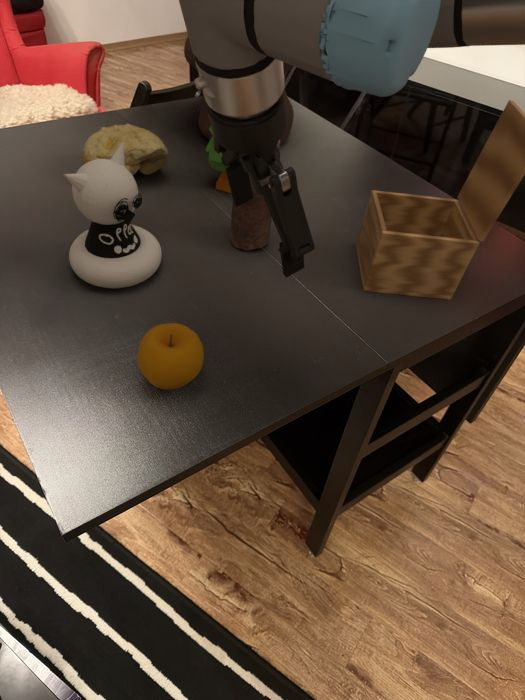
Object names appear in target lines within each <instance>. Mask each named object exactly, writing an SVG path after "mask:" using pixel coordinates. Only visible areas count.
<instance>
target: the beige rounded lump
mask: <svg viewBox="0 0 525 700" xmlns="http://www.w3.org/2000/svg"><path fill="white" fill-rule="evenodd" d="M123 141H124V157H125V168H127V170H128V171H129V172H130V173H131V174H132V176H134V175H136V173H137V172H138V171H139V172H140V173H142V174H143V175H145V176H148V175H152V174H154V173H156V172H157V171H159V170H160V169H162V167H163V166H164V165H165V164H166V161H167V156H168V155H169V151H168V148H167V147H166V145H165V144H164V142H163V140H162V139H161V138H160V137H159V136H158V135H156V134H154V132H151V130H148V129H145V128H144V127H139V126H135V125H133V124H130V123H128V122H127V123H125V124H124V125H123V124H114V125H112V126H107V127H105V126H101V128H100V129H99V130H98V131H95V132H94V133H93V134H91V135H90V136H89V137H88V138H87V140H86V141H85V143H84V146H83V150H82V162H83V165H84V164H86V163H87V162H89V161H92V160H96V159H109V160H111V158H112V157H113V155H114V154H115V152H116V151H117V149H118V148H119V146H120V145H121V143H122V142H123Z"/></svg>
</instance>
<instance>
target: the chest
mask: <svg viewBox="0 0 525 700" xmlns="http://www.w3.org/2000/svg"><path fill="white" fill-rule="evenodd" d="M367 202H368V203H367V206H366V210H365V212H364V216H363V219H362V224H361V227H360V230H359V233H358V236H357V240H356V244H355V249H356V250H355V251H356V256H357V261H358V266H359V273H360V277H361V284H362V289H363V292H371V293H380V294H391V295H400V296H409V297H410V296H411V297H419V298H429V299H438V300H439V299H440V300H448V301H451V300H452V298H453V296H454V295H455V292H456V291H457V289H458V286H459V284H460V283H461V280H462V279H463V276H464V274H465V272H466V270H467V269H468V267H469V265H470V263H471V261H472V259H473V257H474V255H475V253H476V251H477V249H478V247H479V246H480V242H479V240H478V238H477V236H476V234H475V232H474V230H473V228H472V226H471V224H470V222H469V220H468V218H467V216H466V213H465V211H464V209H463V207H462V205H461V203H460V201H459V199H455V198H445V197H437V196H430V195H429V196H428V195H419V194H410V193H401V192H393V191H386V190H385V191H384V190H383V191H382V190H376V189H375V190H374V189H372V190H371V192H370V195H369V199H368V201H367Z"/></svg>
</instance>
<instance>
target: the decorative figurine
mask: <svg viewBox="0 0 525 700" xmlns="http://www.w3.org/2000/svg"><path fill="white" fill-rule="evenodd" d="M63 176H64V177H65V178H66V179H67V181H68V182H69V183H70V184H71V186H72V187H71V193H72V198H73V201H74V203H75V206H76V207H77V209H78V210H79V211H80V213H81V214H82V215H83V216H85V218H87V219H88V220H90V221H91V222H90V225H89V228H88V229H87V230H85V231H82V233H80V234H79V235H78V236H77V237H76V238H75V239H74V240H73V242H72V244H71V246H70V248H69V252H68V260H69V264H70V267H71V269H72V270H73V272H74V273H75V274H76V275H77V276H78V278H80V279H81V280H82V281H84V282H86V283H88V284H90V285H93V286H95V287H98V288H105V289H123V288H124V289H125V288H129V287H133V286H137V285H139V284H140V283H143V282H145V281H146V280H148V279H149V278H151V277H152V276H153V275H155V273H156V272H157V271H158V269H159V267H160V265H161V262H162V257H163V256H162V253H163V252H162V248H161V247H162V246H161V245H160V243H159V240H158V239H157V238H156V237H155V236H154V235H153V234H152V233H151V232H149V231H148V230H147V229H145V228H143V227H140V226H137V225H134V224H132V221H133V219H134V218H135V216H136V213H135V210H138V209H139V208H140V207H141V205H142V202H143V197H142V194H143V193H139V189H138V184H137V181H136V180H135V177H134V175H132V174H131V173H130V172H129V171H128V170H127V168H125V157H124V141H123V142H122V143H121V145H120V146H119V148H118V149H117V151H116V152H115V154H114V155H113V157H112V158H111V160H109V159H96V160H92V161H89V162H87V163H86V164H84V163H83V165H82V166H80V167H79V169H77V171H76V172H75V173H63Z"/></svg>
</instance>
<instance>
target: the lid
mask: <svg viewBox="0 0 525 700" xmlns="http://www.w3.org/2000/svg"><path fill="white" fill-rule="evenodd" d="M493 127H494V128H493V129H492V131H491V133H490V134H489V136H488V139H487V140H486V142H485V143H484V146H483V148H482V150H481V151H480V153H479V155H478V157H477V159H476V161H475V163H474V165H473V167H472V169H471V170H470V172H469V174H468V176H467V178H466V180H465V182H464V184H463V186H462V187H461V189H460V191H459V192H458V195H457V200H458V201H459V203H460V205H461V207H462V209H463V211H464V213H465V215H466V217H467V219H468V221H469V223H470V225H471V227H472V229H473V231H474V233H475V236H476V238H477V240H478V242H479V241H480V242H484V241H485V239H486V237H487V236H488V234H489V233H490V231H491V230H492V228H493V226H494V225H495V223H496V221H497V220H498V218H499V217H500V215H501V214H502V212H503V210H504V208H505V207H506V205H507V204H508V202H509V201H510V199H511V197H512V196H513V194H514V192H515V191H516V190H517V188H518V186H519V184H520V183H521V181H522V180H523V178H524V176H525V112H524V111H523V109H522V108H520V106H519V105H518V104H517V103H516V101H514V100H512V99H509V100H508V101H507V103H506V105H505V107H504V108H503V110H502V113H501V114H500V116H499V118H498V119H497V121H496V124H495V125H494V126H493Z"/></svg>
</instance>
